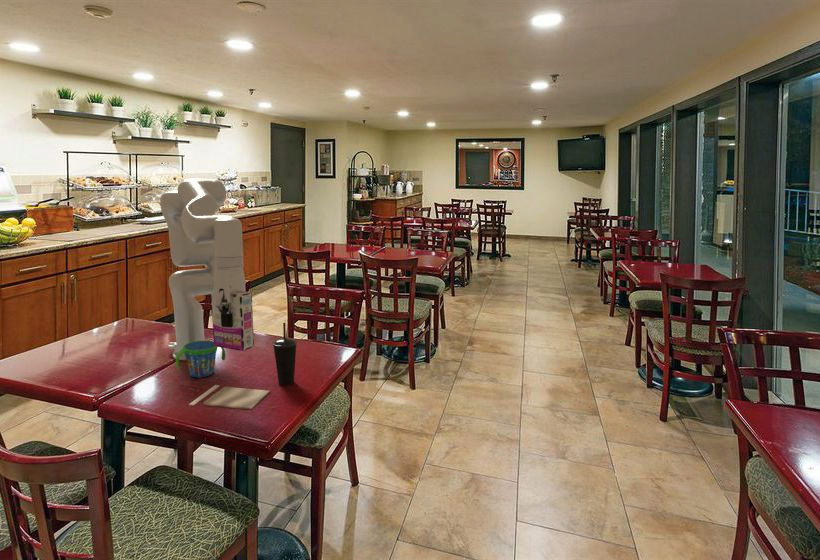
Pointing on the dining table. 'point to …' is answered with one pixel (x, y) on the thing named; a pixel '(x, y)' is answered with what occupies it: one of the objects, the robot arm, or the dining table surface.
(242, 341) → the candy bar box
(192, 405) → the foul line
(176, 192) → the robot arm
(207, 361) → the snack cup
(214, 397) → the board
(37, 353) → the dining table surface
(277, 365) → the drinking cup
